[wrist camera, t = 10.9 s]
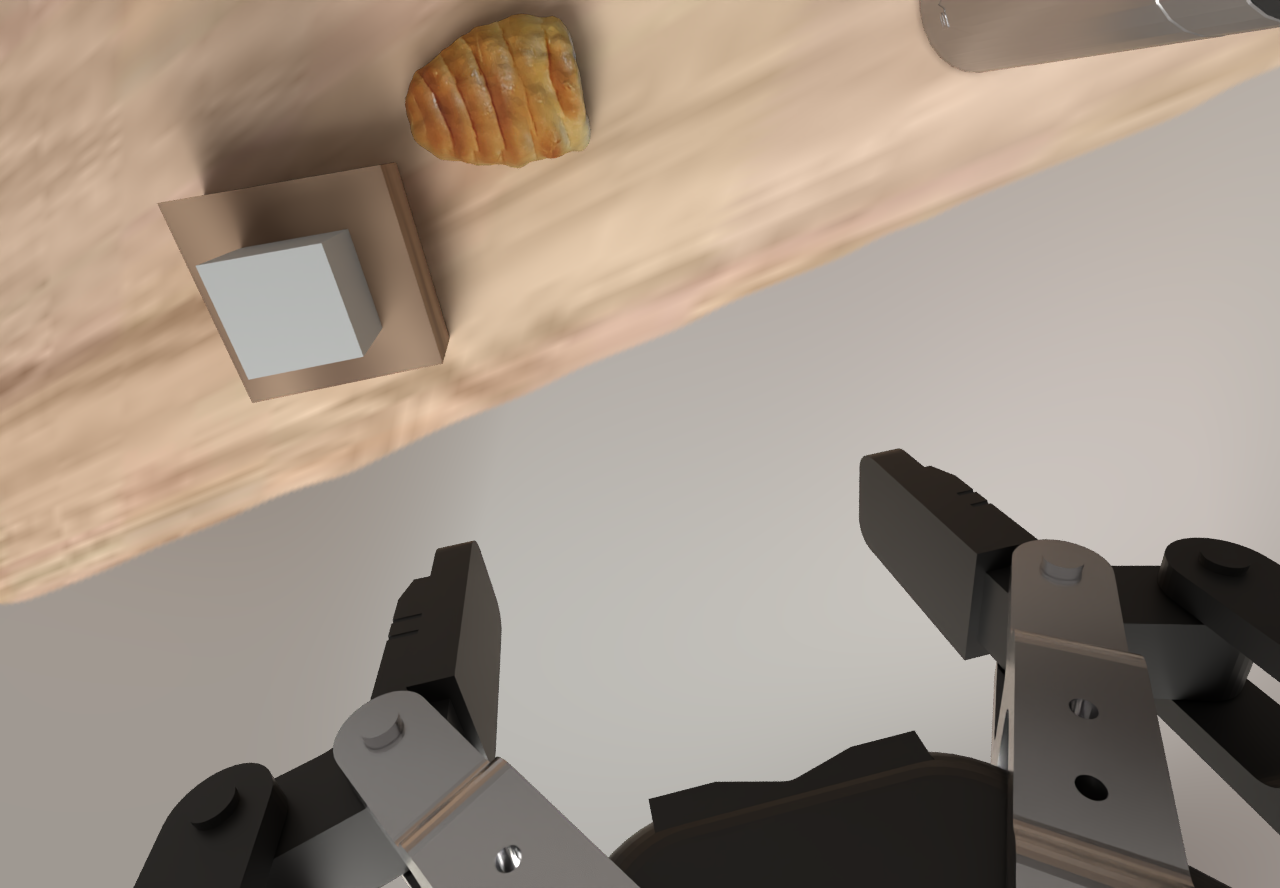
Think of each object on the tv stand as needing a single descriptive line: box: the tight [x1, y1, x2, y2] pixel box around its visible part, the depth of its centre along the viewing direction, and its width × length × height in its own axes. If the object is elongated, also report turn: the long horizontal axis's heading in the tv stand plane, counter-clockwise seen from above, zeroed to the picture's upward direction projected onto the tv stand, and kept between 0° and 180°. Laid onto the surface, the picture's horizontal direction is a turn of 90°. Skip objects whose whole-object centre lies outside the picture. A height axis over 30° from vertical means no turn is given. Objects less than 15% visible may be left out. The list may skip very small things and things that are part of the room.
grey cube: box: [196, 229, 382, 380], centre depth 29 cm, size 5×5×5 cm
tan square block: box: [157, 162, 450, 403], centre depth 33 cm, size 10×10×5 cm
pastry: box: [405, 14, 590, 168], centre depth 32 cm, size 9×7×4 cm
